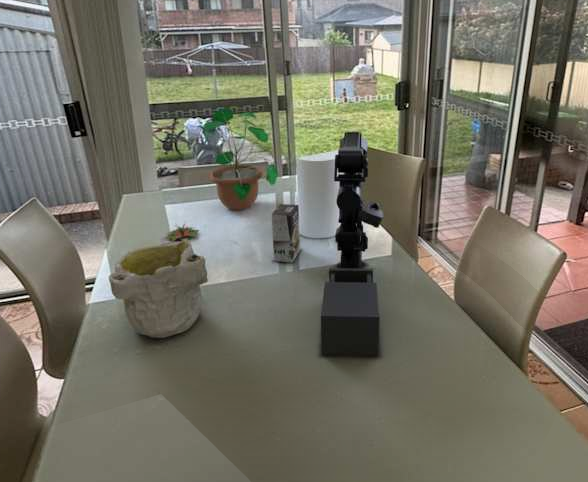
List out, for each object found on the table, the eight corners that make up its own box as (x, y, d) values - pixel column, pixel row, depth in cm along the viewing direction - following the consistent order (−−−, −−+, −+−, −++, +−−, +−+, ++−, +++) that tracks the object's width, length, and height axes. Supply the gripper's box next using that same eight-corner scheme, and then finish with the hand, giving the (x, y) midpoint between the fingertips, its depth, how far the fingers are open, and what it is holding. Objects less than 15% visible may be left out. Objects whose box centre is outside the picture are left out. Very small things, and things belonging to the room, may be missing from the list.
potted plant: (275, 218, 169) (269, 115, 155) (200, 218, 170) (187, 116, 156) (284, 190, 198) (280, 102, 184) (221, 190, 199) (211, 102, 184)
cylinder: (352, 230, 159) (353, 155, 149) (312, 242, 150) (309, 164, 140) (326, 214, 172) (325, 145, 162) (287, 225, 163) (283, 152, 153)
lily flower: (186, 245, 149) (184, 233, 147) (157, 240, 152) (155, 228, 151) (206, 231, 159) (205, 219, 158) (179, 226, 163) (177, 215, 161)
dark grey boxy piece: (330, 288, 122) (330, 260, 119) (371, 289, 122) (372, 261, 118) (326, 325, 107) (326, 294, 104) (373, 326, 106) (374, 295, 103)
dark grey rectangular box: (325, 317, 111) (324, 281, 107) (375, 318, 111) (376, 282, 107) (321, 355, 99) (320, 315, 95) (377, 356, 98) (379, 317, 94)
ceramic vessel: (86, 282, 112) (140, 201, 111) (173, 314, 125) (221, 241, 124) (78, 333, 93) (143, 235, 92) (181, 364, 105) (239, 278, 104)
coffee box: (293, 263, 137) (290, 215, 131) (273, 261, 138) (270, 214, 132) (301, 249, 145) (299, 204, 140) (282, 247, 147) (279, 203, 141)
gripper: (381, 212, 104) (379, 270, 109) (381, 186, 121) (379, 237, 127) (334, 211, 105) (335, 268, 110) (341, 185, 122) (341, 236, 128)
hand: (349, 251), depth 119 cm, fingers open, 9 cm apart
